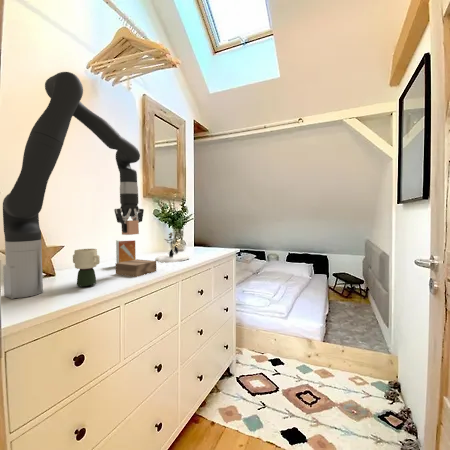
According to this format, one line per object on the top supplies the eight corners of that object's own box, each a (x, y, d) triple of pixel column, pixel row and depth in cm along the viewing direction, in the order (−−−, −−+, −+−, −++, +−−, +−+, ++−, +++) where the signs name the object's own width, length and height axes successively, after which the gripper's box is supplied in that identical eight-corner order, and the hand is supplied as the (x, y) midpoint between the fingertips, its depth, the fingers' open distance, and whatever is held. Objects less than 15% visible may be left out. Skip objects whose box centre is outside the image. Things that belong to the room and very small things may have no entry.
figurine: (170, 254, 164) (169, 229, 162) (195, 257, 156) (194, 230, 154) (148, 262, 146) (146, 234, 144) (175, 265, 138) (173, 235, 137)
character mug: (106, 284, 96) (105, 248, 95) (92, 289, 89) (91, 251, 88) (81, 282, 98) (80, 248, 98) (65, 287, 91) (64, 250, 91)
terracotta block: (129, 234, 111) (128, 220, 111) (121, 234, 114) (121, 220, 114) (138, 233, 116) (138, 220, 115) (131, 233, 118) (130, 220, 118)
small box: (119, 267, 127) (118, 241, 127) (116, 265, 132) (115, 240, 132) (136, 266, 131) (135, 240, 131) (132, 264, 137) (132, 239, 136)
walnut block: (136, 277, 107) (136, 265, 107) (115, 275, 113) (115, 263, 113) (156, 272, 118) (156, 261, 118) (136, 269, 123) (136, 259, 123)
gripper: (120, 191, 106) (121, 233, 107) (147, 193, 118) (149, 231, 119) (108, 192, 110) (110, 233, 111) (136, 194, 122) (137, 231, 123)
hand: (130, 232), depth 115 cm, fingers closed on terracotta block, 5 cm apart
